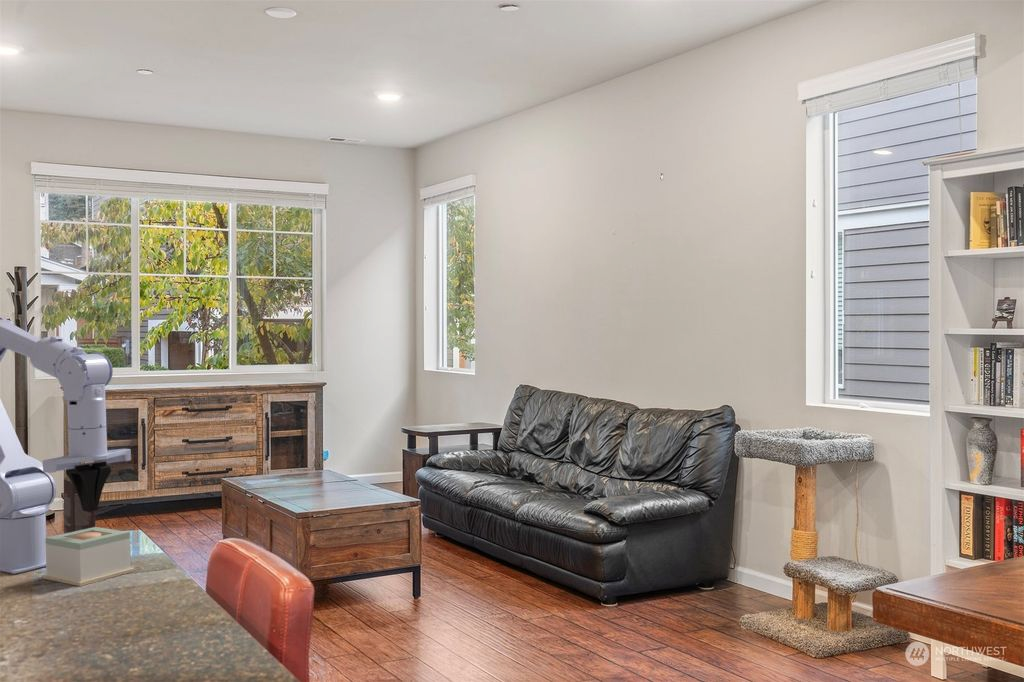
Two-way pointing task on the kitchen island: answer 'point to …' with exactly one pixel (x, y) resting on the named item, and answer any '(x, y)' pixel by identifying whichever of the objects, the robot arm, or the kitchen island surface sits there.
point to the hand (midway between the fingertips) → (90, 510)
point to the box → (75, 510)
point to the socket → (87, 556)
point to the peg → (87, 535)
